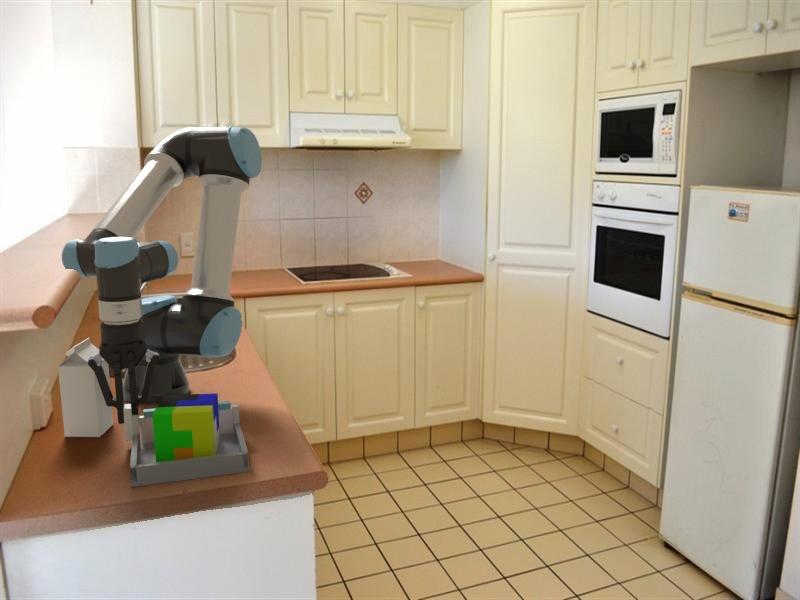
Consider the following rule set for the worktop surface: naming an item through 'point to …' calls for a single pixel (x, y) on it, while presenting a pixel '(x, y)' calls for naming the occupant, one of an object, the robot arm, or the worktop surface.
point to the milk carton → (83, 394)
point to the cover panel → (224, 422)
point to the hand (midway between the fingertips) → (129, 438)
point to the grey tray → (225, 461)
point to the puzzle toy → (186, 427)
